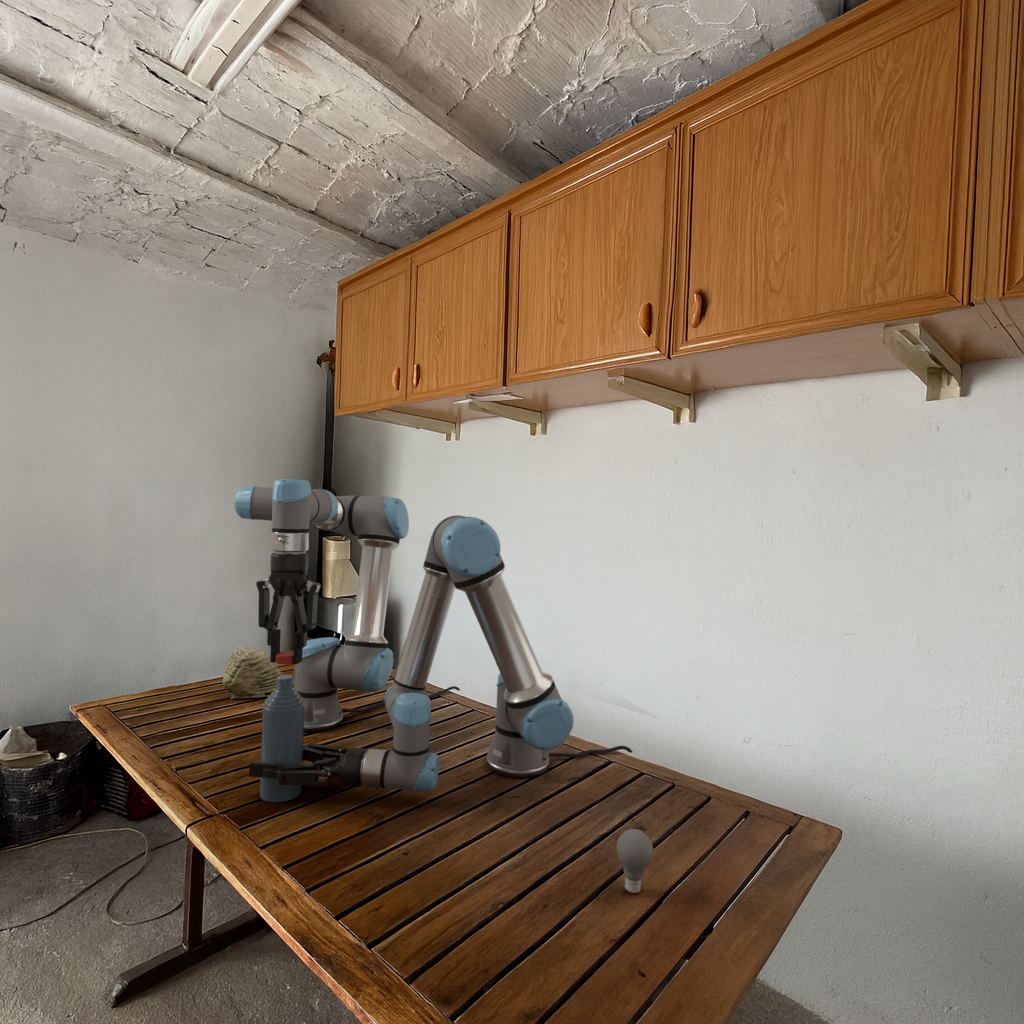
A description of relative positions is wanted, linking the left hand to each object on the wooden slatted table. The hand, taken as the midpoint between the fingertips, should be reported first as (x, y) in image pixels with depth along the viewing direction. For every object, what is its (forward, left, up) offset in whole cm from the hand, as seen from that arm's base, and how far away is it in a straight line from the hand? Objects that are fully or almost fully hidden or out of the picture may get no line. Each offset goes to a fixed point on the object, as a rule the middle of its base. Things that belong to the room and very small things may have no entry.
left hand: (286, 661), depth 135 cm
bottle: (0, 0, -28) cm, 28 cm away
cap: (0, 0, +1) cm, 1 cm away
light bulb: (-20, +73, -28) cm, 80 cm away
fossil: (-30, -64, -28) cm, 76 cm away
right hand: (+3, -4, -21) cm, 22 cm away
